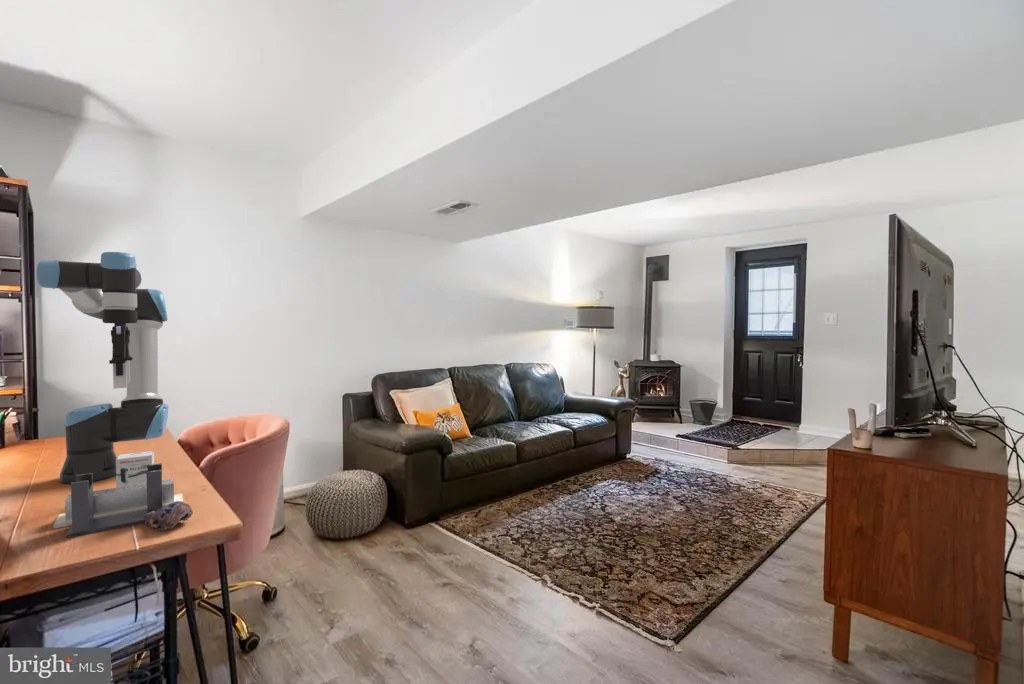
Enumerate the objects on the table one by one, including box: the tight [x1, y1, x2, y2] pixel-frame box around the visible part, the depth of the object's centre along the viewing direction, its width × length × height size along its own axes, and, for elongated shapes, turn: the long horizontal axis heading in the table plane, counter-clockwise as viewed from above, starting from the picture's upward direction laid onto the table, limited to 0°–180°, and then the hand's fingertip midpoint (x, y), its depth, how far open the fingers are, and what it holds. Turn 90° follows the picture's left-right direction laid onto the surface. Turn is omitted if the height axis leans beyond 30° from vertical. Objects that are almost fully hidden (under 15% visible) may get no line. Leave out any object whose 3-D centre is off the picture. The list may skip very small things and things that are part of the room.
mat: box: [53, 493, 184, 529], centre depth 128 cm, size 8×26×1 cm, turn 126°
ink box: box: [115, 450, 155, 488], centre depth 141 cm, size 8×5×12 cm, turn 123°
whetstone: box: [64, 478, 175, 521], centre depth 127 cm, size 5×22×5 cm, turn 126°
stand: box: [66, 462, 163, 538], centre depth 120 cm, size 8×19×12 cm, turn 126°
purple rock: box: [144, 501, 194, 531], centre depth 119 cm, size 12×8×6 cm, turn 67°
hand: (122, 385), depth 133 cm, fingers open, 13 cm apart
